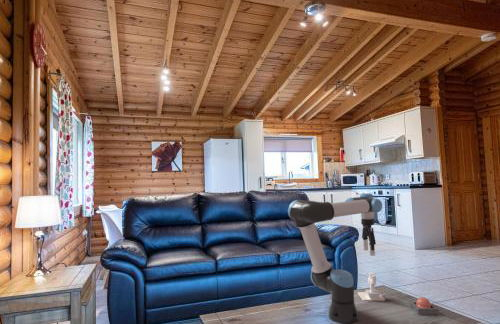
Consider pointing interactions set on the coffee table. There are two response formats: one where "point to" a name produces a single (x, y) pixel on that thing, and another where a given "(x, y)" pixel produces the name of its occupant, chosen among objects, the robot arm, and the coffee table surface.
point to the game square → (366, 298)
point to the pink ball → (423, 303)
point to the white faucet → (372, 287)
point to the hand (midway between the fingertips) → (369, 252)
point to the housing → (424, 309)
